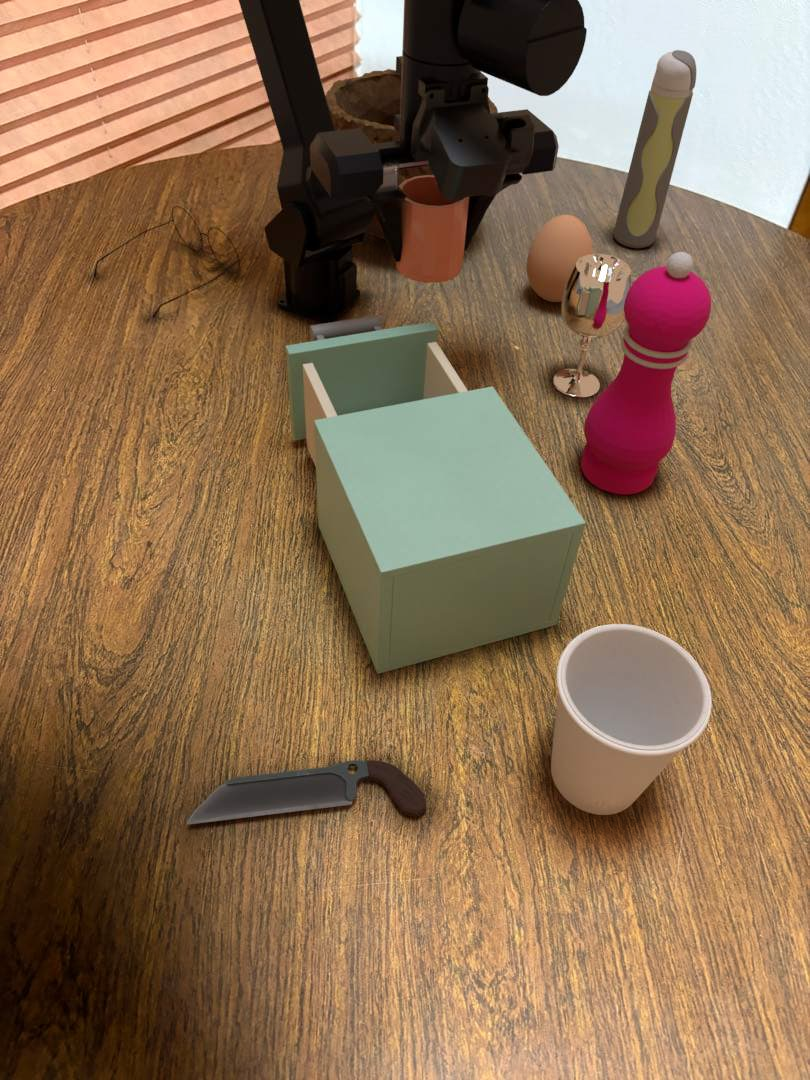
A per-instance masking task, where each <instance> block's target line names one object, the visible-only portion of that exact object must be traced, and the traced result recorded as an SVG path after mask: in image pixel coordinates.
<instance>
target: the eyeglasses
mask: <svg viewBox="0 0 810 1080" xmlns="http://www.w3.org/2000/svg"><path fill="white" fill-rule="evenodd" d="M176 208H179V209H182V210H183V211H184V212H185V213H186V214H187V215H188V216H189V217H190V219H191V220H192V222H193V223H194V224H195V227H196V228H197V231H198V233H199V236H200V239H199V242H201V246H200V248H199V249H194V248H192V247H191V246H190V245H189V244H188V243H187V242H186V241H185V239H184V238H183V237H182V235H181V234H180V231H178V228H177V225H176V223H175V220H174V214H173V213H174V209H176ZM171 222H172V223H173V225H174V228H175V230H176V232H177V234H178V236H179V237H180V239H181V240H182V241H183V242H184V244H185V245H186V246H187V247H188V248H189V249H190V250H193V251H194V252H200V251H201V250H203V246H204V245H207V241H208V245H209V248H210V250H211V253H212V255H213V257H214V258H215V259H216V261H217V262H218V264H219V265H220V266H221V267H222V268H223V269H224V271H223V272H222V273H220V274H219V275H217V276H216V277H214V278H212V279H211V280H209V281H207V282H205V283H203V284H201V285H199V286H197V287H194V288H193V289H191V290H189V291H187V292H184V293H182V294H180V295H179V296H175V297H173V298H171V299H169V300H167V301H165V302H163V303H161V304H160V305H159V306H158V308H157V309H156V311H155V312H153V313H154V314H153V315H152V318H154V319H155V318H156V316H157V314H158V313H159V311H160V309H161V308H162V306H164V305H167V304H169V303H172V302H174V301H175V300H177V299H179V298H182V297H183V296H185V295H188V294H189V293H191V292H193V291H196V290H198V289H199V288H201V287H204V286H206V285H207V284H210V283H212V282H214V281H215V280H217V279H218V278H219V277H222V275H224V274H225V273H226V272H229V273H231V274H237V273H238V272H239V271H240V267H241V264H240V262H241V259H240V258H239V254H238V252H237V249H236V248H235V246H234V243H233V241H231V239H230V238H229V236H227V234H226V233H224V231H223V230H221V229H219V228H218V227H215V226H212V227H209V229H208V230H207V233H204V232H201V230H200V229H199V227H198V225H197V222H196V221H195V219H194V218H193V217H192V215H191V214H190V213H189V212H188V211H187V210H186V209H185V208H184V207H182V206H179V205H175V206H173V208H172V209H171V219H170V220H169V221H166V222H164V223H162V224H160V225H157V226H154V227H151V228H149V229H146V230H144V231H142V232H141V233H139V234H137V235H136V236H134V237H132V238H131V239H129V240H128V241H126V242H124V243H123V244H121V245H120V246H118V247H117V248H115V249H114V250H112V251H110V252H108V253H107V254H106V255H104V256H101V258H99V259H98V260H97V261H96V264H95V267H94V271H93V277H94V278H96V277H97V270H98V265H99V263H100V262H101V261H102V260H104V259H106V258H107V257H109V256H110V255H111V254H113V253H115V252H116V251H117V250H120V248H123V247H124V246H125V245H127V244H128V243H130V242H131V241H133V240H135V239H136V238H137V237H138V238H139V236H141V235H143V234H145V233H147V232H150V231H152V230H154V229H157V228H160V227H162V226H164V225H167V224H170V223H171ZM212 229H215V230H218V231H220V232H221V233H222V234H223V235H224V236H225V238H227V239H228V241H229V242H230V244H231V245H232V248H233V250H234V251H235V254H236V257H237V261H235V262H233V263H232V264H231V265H230V266H229V267H228V268H226V267H225V266H224V265H223V264H222V263H221V262H220V261H219V259H218V258H217V256H216V255H215V253H214V251H213V248H212V246H211V243H210V239H209V238H210V236H209V234H210V233H209V232H210V231H211V230H212ZM202 235H204V236H206V238H207V241H206V239H205V240H203V236H202ZM203 241H204V242H203ZM237 263H238V269H237V270H236V271H230V269H231V268H232V267H233V266H235V265H236V264H237Z"/></svg>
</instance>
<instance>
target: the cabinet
mask: <svg viewBox="0 0 810 1080" xmlns="http://www.w3.org/2000/svg"><path fill="white" fill-rule="evenodd" d="M314 436H315V459H316V467H315V477H316V478H315V479H316V481H315V482H316V502H317V504H316V506H317V524H318V529H319V531H320V533H321V536H322V539H323V541H324V543H325V546H326V548H327V551H328V553H329V556H330V558H331V561H332V563H333V566H334V569H335V571H336V574H337V577H338V579H339V581H340V584H341V586H342V588H343V591H344V594H345V596H346V599H347V601H348V603H349V607H350V609H351V611H352V614H353V616H354V619H355V622H356V624H357V627H358V628H359V629H358V630H359V631H360V634H361V636H362V639H363V641H364V644H365V647H366V649H367V651H368V654H369V656H370V659H371V662H372V664H373V667H374V669H375V672H376V674H378V675H380V674H384V673H386V672H390V671H394V670H397V669H401V668H405V667H408V666H412V665H416V664H420V663H422V662H427V661H430V660H435V659H438V658H442V657H445V656H449V655H452V654H455V653H459V652H464V651H467V650H470V649H474V648H477V647H482V646H486V645H489V644H492V643H495V642H500V641H503V640H507V639H510V638H511V639H512V638H515V637H519V636H521V635H525V634H529V633H532V632H536V631H539V630H543V629H547V628H551V627H555V626H557V625H558V623H559V620H560V619H559V618H560V615H561V612H562V608H563V604H564V601H565V598H566V594H567V590H568V587H569V584H570V580H571V577H572V573H573V570H574V567H575V563H576V560H577V556H578V552H579V548H580V545H581V542H582V538H583V535H584V531H585V527H586V525H587V522H586V520H585V519H584V517H583V516H582V514H581V513H580V512H579V511H578V508H577V507H576V505H575V504H574V503H573V502H572V500H571V499H570V497H569V496H568V494H567V492H566V491H565V490H564V488H563V487H562V485H561V484H560V482H559V481H558V480H557V478H556V476H555V475H554V474H553V472H552V471H551V469H550V468H549V466H548V465H547V463H546V462H545V461H544V459H543V458H542V455H540V453H539V452H538V450H537V449H536V447H535V446H534V443H532V442H531V440H530V438H529V437H528V435H527V434H526V432H525V431H524V429H522V426H521V425H520V424H519V422H518V421H517V419H516V418H515V417H514V414H513V413H512V412H511V411H510V409H509V408H508V406H507V405H506V403H505V402H504V401H503V399H502V397H501V396H500V395H499V393H498V392H497V390H496V389H495V387H494V386H486V387H482V388H477V389H472V390H468V391H465V392H460V393H455V394H450V395H444V396H439V397H434V398H428V399H423V400H418V401H413V402H407V403H402V404H397V405H392V406H386V407H381V408H376V409H370V410H365V411H360V412H355V413H349V414H344V415H339V416H333V417H328V418H323V419H318V420H314Z"/></svg>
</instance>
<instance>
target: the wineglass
mask: <svg viewBox="0 0 810 1080" xmlns="http://www.w3.org/2000/svg"><path fill="white" fill-rule="evenodd" d="M631 286H632V270H631V268H630V266H629V264H628V263H627V262H626V261H624V260H623V259H621V258H619V257H616V256H613V255H610V254H605V253H593V254H589V255H585V256H583V257H581V258H579V259H578V260H577V262H576V264H575V266H574V268H573V270H572V272H571V274H570V276H569V278H568V281H567V283H566V286H565V289H564V292H563V297H562V302H560V303H561V304H560V305H561V307H560V312H561V317H562V320H563V322H564V324H565V326H567V328H568V329H569V330H570V331H571V332H573V333H575V334H576V335H578V336H580V337H581V339H580V341H579V347H580V349H579V350H580V352H579V353H580V354H579V359H578V364H577V367H569V368H563V369H560V370H558V371H557V372H556V373H555V374H554V375H553V377H552V384H553V386H554V387H555V388H556V390H558V391H559V392H560V393H562V394H564V395H566V396H568V397H573V398H577V399H578V398H579V399H580V398H589V397H592V396H595V395H596V394H598V392H599V391H600V389H601V383H600V380H599V379H598V377H597V376H596V375H594V373H592V372H590V371H588V370H585V369H584V368H583V367H584V363H585V358H586V355H587V353H588V351H589V349H590V348H591V345H592V343H593V341H592V340H593V339H600V338H604V337H608V336H610V335H612V334H614V333H615V332H617V330H618V329H619V328H620V327H621V326H622V325H623V323H624V321H625V320H626V319H625V314H624V303H625V299H626V295H627V293H628V291H629V289H630V287H631Z"/></svg>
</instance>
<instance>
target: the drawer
mask: <svg viewBox="0 0 810 1080" xmlns="http://www.w3.org/2000/svg"><path fill="white" fill-rule="evenodd" d="M382 327H383V325H382V320H381V317H380V315H379V314H374V315H368V316H362V317H356V318H350V319H349V318H348V319H342V320H338V321H336V320H335V321H334V322H330V323H326V322H323V323H318V324H311V325H309V336H310V340H311V341H306V342H300V343H294V344H287V345H285V358H286V359H285V361H286V373H287V388H288V390H287V391H288V402H289V417H290V433H291V434H292V437H293V440H294V441H301V440H306V448H307V450H308V452H309V455H310V457H311V460H312V462H313V464H314V467H315V468H316V459H315V436H314V420H318V419H323V418H328V417H333V416H339V415H344V414H349V413H355V412H360V411H365V410H370V409H376V408H381V407H386V406H392V405H397V404H402V403H407V402H413V401H418V400H423V399H428V398H434V397H439V396H444V395H450V394H455V393H460V392H465V391H469V390H468V388H467V387H466V385H465V383H464V382H463V380H462V379H461V377H460V376H459V375H458V373H457V372H456V370H455V368H454V366H453V365H452V364H451V363H450V360H449V359H448V357H447V356H446V354H445V353H444V352H443V350H442V349H441V347H440V346H439V344H438V337H439V328H438V326H437V324H436V323H435V322H434V321H433V320H432V321H426V322H421V323H420V322H419V323H415V324H409V325H402V326H397V327H391V328H384V329H383V328H382Z"/></svg>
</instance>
